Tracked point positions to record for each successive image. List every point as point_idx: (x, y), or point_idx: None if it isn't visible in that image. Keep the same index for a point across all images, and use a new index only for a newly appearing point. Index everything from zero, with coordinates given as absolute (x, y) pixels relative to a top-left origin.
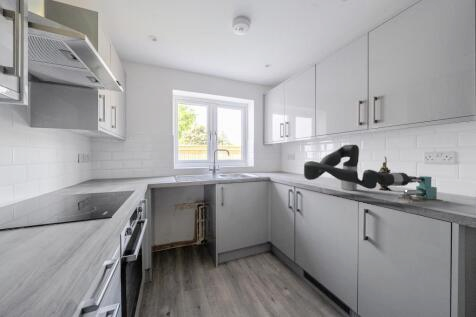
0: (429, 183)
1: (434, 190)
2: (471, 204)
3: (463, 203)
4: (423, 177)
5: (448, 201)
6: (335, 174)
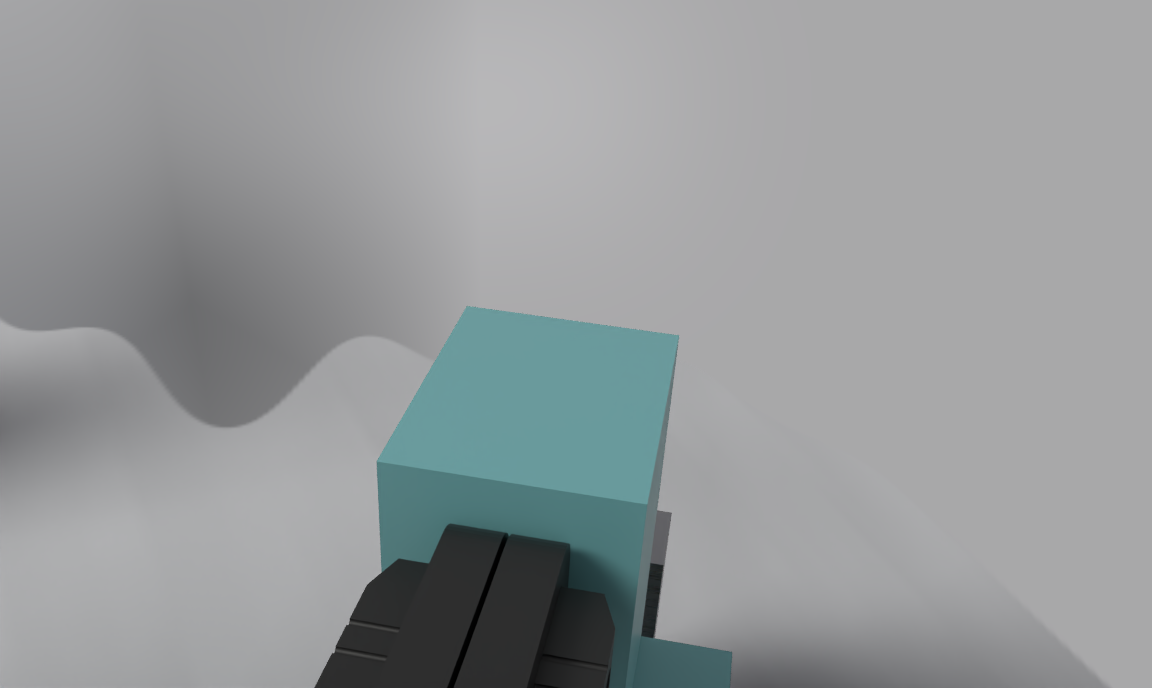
0: (644, 587)
1: (653, 627)
2: (1008, 591)
3: (939, 618)
4: (557, 525)
5: (774, 666)
6: None
